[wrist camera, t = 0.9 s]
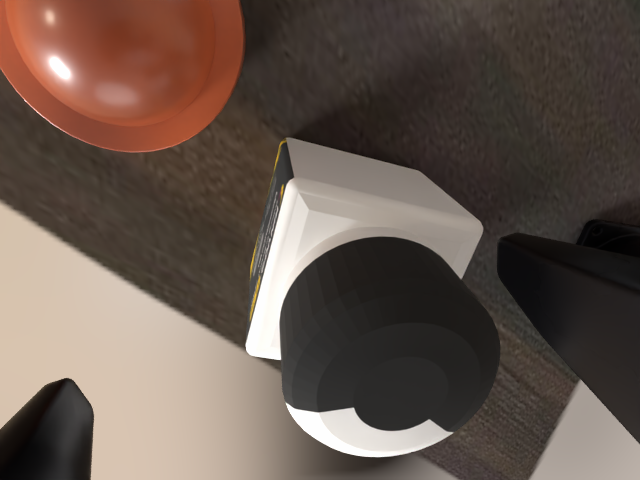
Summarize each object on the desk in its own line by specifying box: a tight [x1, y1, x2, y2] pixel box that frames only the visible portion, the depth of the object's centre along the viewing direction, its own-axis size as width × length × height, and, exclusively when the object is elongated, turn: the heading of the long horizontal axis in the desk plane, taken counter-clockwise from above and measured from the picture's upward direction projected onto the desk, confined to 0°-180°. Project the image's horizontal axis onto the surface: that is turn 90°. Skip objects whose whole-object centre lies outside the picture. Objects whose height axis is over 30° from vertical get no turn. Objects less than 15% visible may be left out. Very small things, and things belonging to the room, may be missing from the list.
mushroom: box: [0, 0, 246, 152], centre depth 14 cm, size 8×8×7 cm
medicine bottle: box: [246, 138, 500, 457], centre depth 16 cm, size 7×7×12 cm
